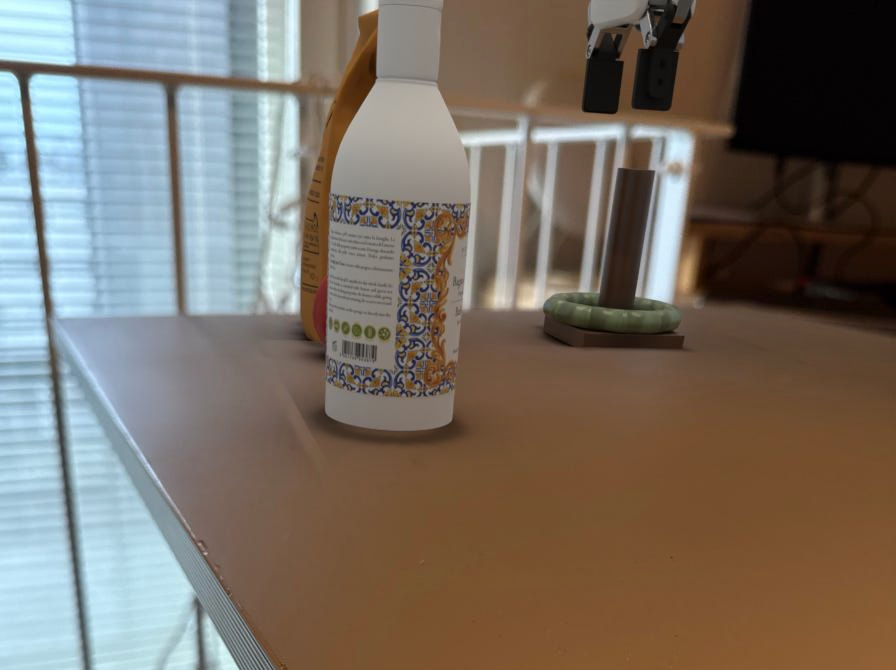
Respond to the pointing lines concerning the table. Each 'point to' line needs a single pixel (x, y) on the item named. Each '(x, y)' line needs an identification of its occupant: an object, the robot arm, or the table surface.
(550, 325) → the post
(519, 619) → the table surface
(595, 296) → the ring
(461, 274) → the bath foam
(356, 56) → the coffee package
